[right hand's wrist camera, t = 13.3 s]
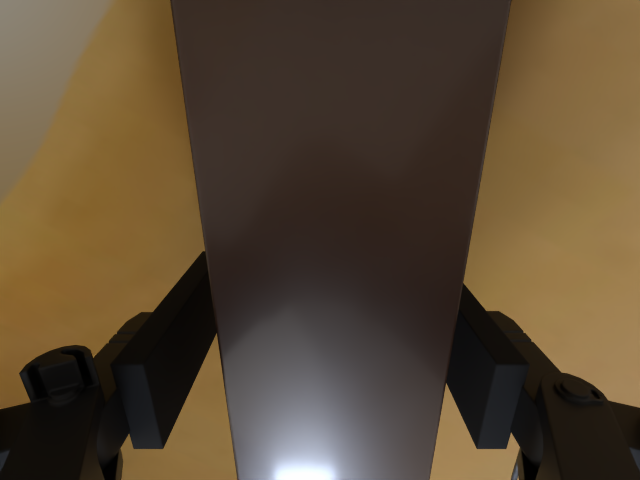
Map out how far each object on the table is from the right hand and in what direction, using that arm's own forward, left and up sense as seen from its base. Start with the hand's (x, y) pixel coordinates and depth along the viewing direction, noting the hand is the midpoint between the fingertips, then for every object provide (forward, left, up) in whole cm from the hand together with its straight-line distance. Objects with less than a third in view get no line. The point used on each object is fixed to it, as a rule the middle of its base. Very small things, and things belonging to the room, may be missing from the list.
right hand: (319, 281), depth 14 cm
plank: (0, -11, -1) cm, 11 cm away
